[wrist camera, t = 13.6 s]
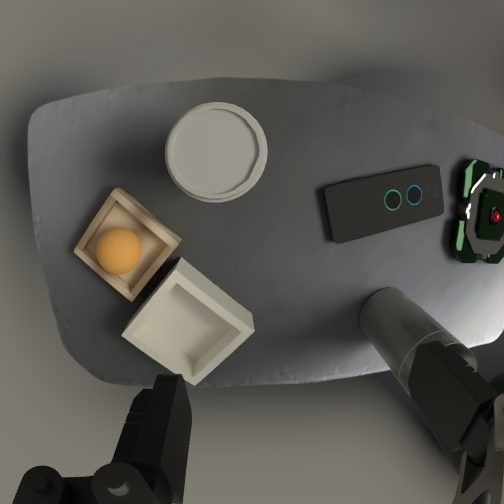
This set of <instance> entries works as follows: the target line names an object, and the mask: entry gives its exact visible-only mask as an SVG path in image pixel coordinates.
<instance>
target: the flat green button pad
mask: <svg viewBox="0 0 504 504" xmlns="http://www.w3.org/2000/svg"><path fill="white" fill-rule="evenodd" d="M457 195H458V198H462V202H461V204H460V203H459V204H458V208H457V212H458V213H459V214H460V220H457V219H455V220H454V223H453V229H452V235H451V241H450V247H451V249H452V251H453V253H454V256H455V258H456V260H458V261H460V262H461V263H475V262H476V261H477V257H479V258H481V259H483V261H484V262H486V263H490V264H498V263H499V262H500V261H501V260H502V258H503V257H504V169H503V168H497V169H496V171H494V170H490V165H489V163H486V162H483V161H481V160H478V159H470V160H469V161H468V162H467V163H466V164H465V165H464V167H463V168H462V169H461V170H460V173H459V184H458V194H457Z"/></svg>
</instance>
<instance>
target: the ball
mask: <svg viewBox="0 0 504 504" xmlns="http://www.w3.org/2000/svg"><path fill="white" fill-rule="evenodd" d="M96 255H97V259H98V261H99V263H100V265H101V266H102V267H103V268H104V269H105V270H106V271H108V272H110V273H112V274H117V275H120V274H126V273H128V272H130V271H131V270H133V269H134V268H135V267H136V266H137V264H138V263H139V260H140V257H141V244H140V241H139V239H138V237H137V236H136V235H135V234H134V233H133V232H132V231H131V230H129V229H127V228H124V227H114V228H111V229H109V230H107V231H106V232H104V233H103V234H102V235H101V237H100V238H99V240H98V243H97V246H96Z"/></svg>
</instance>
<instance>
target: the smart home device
mask: <svg viewBox="0 0 504 504" xmlns="http://www.w3.org/2000/svg"><path fill="white" fill-rule="evenodd" d="M322 193H323V198H324V203H325V208H326V213H327V218H328V223H329V229H330V234H331V240H332V241H333V242H335V243H344V242H348V241H351V240H355V239H359V238H362V237H366V236H369V235H373V234H377V233H380V232H384V231H387V230H391V229H394V228H398V227H401V226H405V225H408V224H412V223H415V222H419V221H422V220H426V219H429V218H433V217H436V216H439V215H442V214H443V213H444V203H443V193H442V184H441V176H440V168H439V166H437V165H426V166H421V167H415V168H410V169H405V170H399V171H394V172H389V173H384V174H379V175H374V176H369V177H365V178H355V179H351V180H346V181H345V182H341V183H337V184H332V185H328V186H326V187H324V188H323V189H322Z"/></svg>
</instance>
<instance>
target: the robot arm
mask: <svg viewBox="0 0 504 504" xmlns="http://www.w3.org/2000/svg"><path fill="white" fill-rule="evenodd" d="M359 324H360V327H361V329H362V331H363V332H364V334H365V335H366V336H367V338H368V339H369V340H370V342H371V343H372V345H373V346H374V347H375V349H376V350H377V351H378V353H379V354H380V355H381V357H382V358H383V360H384V361H385V362H386V364H387V365H388V366H389V368H390V369H391V370H392V372H393V373H394V374H395V376H396V377H397V379H398V380H399V382H400V383H401V384H402V386H403V387H404V388H405V390H406V391H407V392H408V394H409V395H410V397H411V398H412V400H413V401H414V403H415V404H416V406H417V407H418V409H419V411H420V412H421V414H422V415H423V417H424V418H425V420H426V421H427V423H428V425H429V426H430V428H431V430H432V431H433V433H434V435H435V436H436V438H437V440H438V442H439V444H440V446H441V447H442V449H443V451H444V453H445V455H446V456H447V458H448V460H449V462H450V463H451V465H452V467H453V468H454V470H455V471H456V472H457V474H458V475H459V478H458V483H457V488H456V493H455V497H454V500H453V503H452V504H504V371H501V372H498V373H497V374H496V375H495V376H494V377H493V378H492V379H491V380H490V381H489V382H487V381H486V380H485V379H484V378H483V377H482V376H481V375H480V374H479V373H478V372H476V371H477V360H476V357H475V356H474V354H473V353H472V352H471V351H470V350H469V349H468V348H467V347H466V346H465V345H463V344H462V343H461V342H460V341H459V340H458V339H457V338H456V337H454V336H453V335H452V334H451V333H450V332H449V331H448V330H446V329H445V328H444V327H443V326H442V325H441V324H440V323H438V322H437V321H436V320H435V319H434V318H433V317H431V316H430V315H429V314H428V313H427V312H426V311H424V310H423V309H422V308H421V307H420V306H418V305H417V304H416V303H415V302H414V301H413V300H411V299H410V298H409V297H408V296H406V295H405V294H404V293H403V292H402V291H400V290H399V289H396V288H384V289H382V290H379V291H378V292H376V293H374V294H373V295H372V296H371V297H370V298H369V299H368V300H367V301H366V302H365V304H364V306H363V307H362V310H361V313H360V317H359ZM191 426H192V412H191V406H190V402H189V399H188V395H187V391H186V387H185V383H184V379H183V376H182V374H158V375H157V377H156V380H155V384H154V387H153V389H143V390H142V391H141V392H140V393H139V394H138V395H137V396H136V397H135V398H134V399H133V402H132V405H131V407H130V410H129V413H128V415H127V418H126V423H125V424H124V427H123V429H122V433H121V435H120V438H119V441H118V444H117V447H116V450H115V453H114V456H113V459H112V461H111V463H109V464H106V465H104V466H102V467H100V468H99V469H98V470H97V471H96V472H95V473H94V475H93V476H87V477H61V475H60V474H59V473H58V472H57V471H56V470H55V469H53V468H51V467H48V466H36V467H33V468H31V469H30V470H28V471H27V472H26V473H25V474H24V476H23V478H22V480H21V483H20V485H19V487H18V490H17V493H16V495H15V498H14V500H13V503H12V504H172V503H175V504H182V503H183V495H184V485H185V476H186V467H187V459H188V449H189V441H190V434H191Z"/></svg>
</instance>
